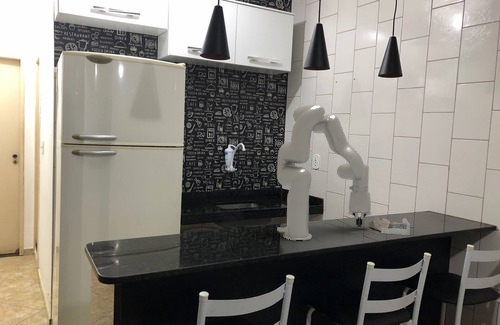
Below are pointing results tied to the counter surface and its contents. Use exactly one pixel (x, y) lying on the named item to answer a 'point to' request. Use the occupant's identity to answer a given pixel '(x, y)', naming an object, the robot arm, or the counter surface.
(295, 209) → the robot arm
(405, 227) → the dock
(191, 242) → the counter surface
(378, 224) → the concrete fragment
